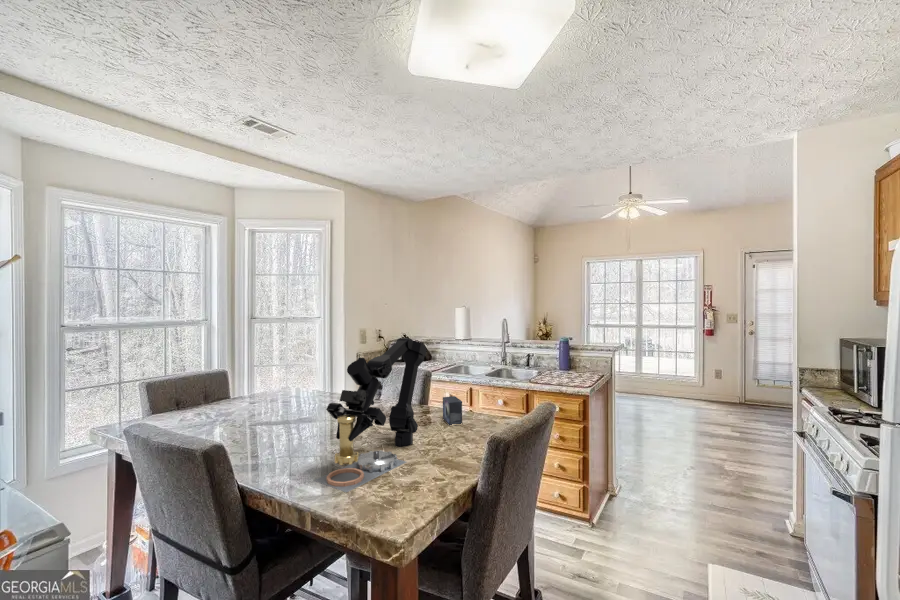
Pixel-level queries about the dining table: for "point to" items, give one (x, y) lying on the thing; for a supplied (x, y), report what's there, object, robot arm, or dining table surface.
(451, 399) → the small box
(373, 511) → the dining table surface
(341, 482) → the gear board
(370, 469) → the gear
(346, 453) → the gold piece
